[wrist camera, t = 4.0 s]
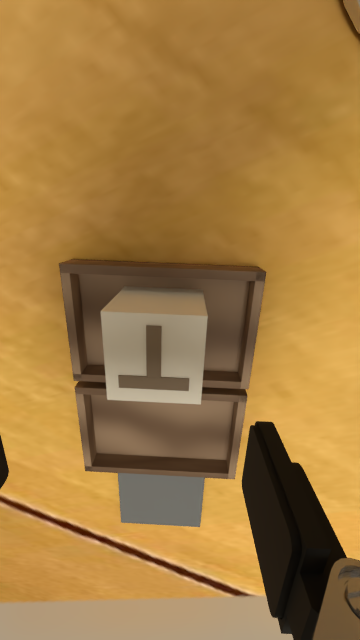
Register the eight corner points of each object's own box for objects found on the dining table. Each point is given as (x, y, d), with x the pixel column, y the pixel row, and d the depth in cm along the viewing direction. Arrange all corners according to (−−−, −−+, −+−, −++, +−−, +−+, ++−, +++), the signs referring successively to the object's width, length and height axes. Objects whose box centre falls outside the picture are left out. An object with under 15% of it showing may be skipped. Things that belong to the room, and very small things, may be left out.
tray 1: (72, 259, 19) (59, 263, 17) (258, 266, 18) (266, 272, 17) (83, 366, 22) (73, 380, 20) (243, 374, 22) (248, 389, 20)
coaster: (118, 460, 25) (117, 464, 25) (205, 465, 25) (205, 469, 25) (122, 518, 28) (121, 522, 28) (199, 522, 28) (199, 526, 28)
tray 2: (84, 373, 22) (74, 387, 20) (242, 380, 22) (247, 395, 20) (93, 452, 25) (85, 471, 23) (231, 459, 25) (234, 479, 23)
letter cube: (124, 286, 19) (100, 311, 13) (202, 289, 19) (207, 316, 13) (127, 354, 21) (106, 400, 15) (197, 358, 20) (200, 405, 15)
